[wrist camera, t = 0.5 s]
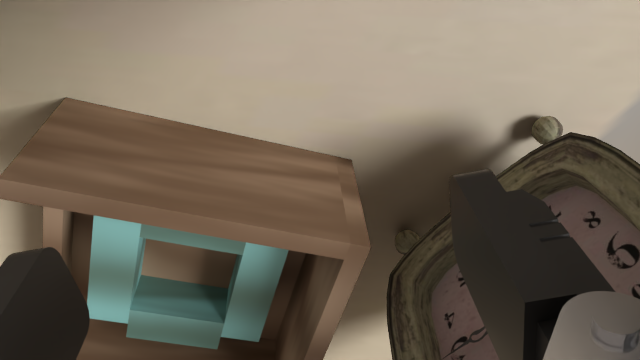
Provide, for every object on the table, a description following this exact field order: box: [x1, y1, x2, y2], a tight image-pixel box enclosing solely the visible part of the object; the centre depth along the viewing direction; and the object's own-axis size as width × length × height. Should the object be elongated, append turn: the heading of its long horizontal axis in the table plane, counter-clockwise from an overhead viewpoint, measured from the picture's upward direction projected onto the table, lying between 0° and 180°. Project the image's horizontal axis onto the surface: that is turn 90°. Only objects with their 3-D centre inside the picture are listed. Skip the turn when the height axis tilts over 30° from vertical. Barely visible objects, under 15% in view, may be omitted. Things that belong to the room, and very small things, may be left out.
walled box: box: [0, 98, 371, 360], centre depth 30 cm, size 16×16×8 cm
